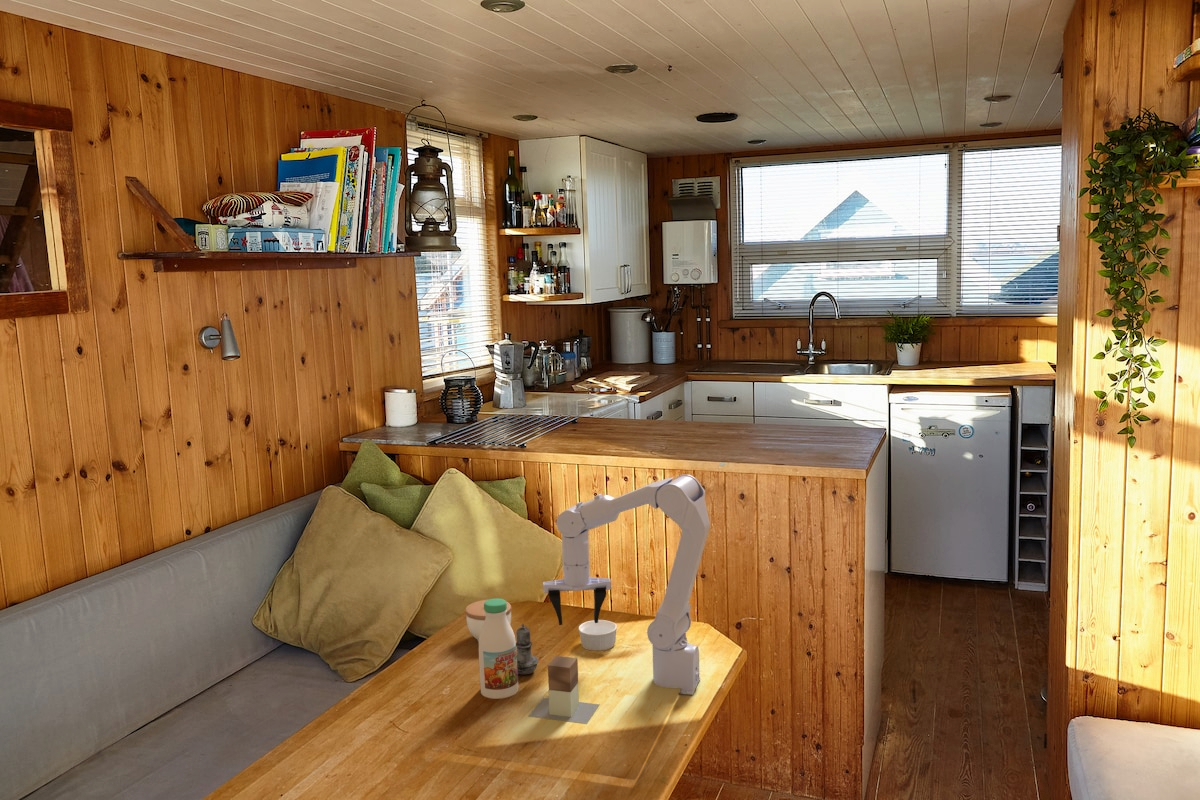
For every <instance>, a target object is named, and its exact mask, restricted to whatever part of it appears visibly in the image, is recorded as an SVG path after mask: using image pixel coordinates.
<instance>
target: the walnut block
mask: <svg viewBox="0 0 1200 800" xmlns="http://www.w3.org/2000/svg"><path fill="white" fill-rule="evenodd" d="M547 677H548V678H547V679H548V691H549V690H555V691H563V692H571V691H572V690H573V689H574V687H575V686H576V685H577V683H578V684H579V665H578V657H572V656H571V657H570V656H562V655H555V656H554V657H553V658H552V660H551V661H550V662H549V663H548V664H547Z"/></svg>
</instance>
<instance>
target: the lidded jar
mask: <svg viewBox="0 0 1200 800" xmlns="http://www.w3.org/2000/svg"><path fill="white" fill-rule="evenodd" d="M490 599H491V598H489V599H481V600H477V601H475V602H472V603H470V604H468V605H467V606H466V608H465V615H466V616H465V617H466V623H467V624H466V625H467V628H468V631H469V632H470V635H471V636H472V637H473V638H475V639H476V641H477V642H478V643H479V637H480V633H481V630H482V628H483V625H484V622H485V618H486V614H485V613H484V611H485V610H484V603H485V602H486V601H487V600H490ZM506 603H507V612H506V617H507V620H508V622H509V624H510V625H511V622H512V605H511V604H510V602H508V601H506Z"/></svg>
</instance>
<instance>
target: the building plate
mask: <svg viewBox="0 0 1200 800" xmlns="http://www.w3.org/2000/svg"><path fill="white" fill-rule="evenodd" d="M600 705H601V704H598V703H590V702H584V701H579V707H578V708H577V710H576V711H575V713H574V714H573V715H572V717H567V716H559V715H551V714H549V697H542V698H541V700H540V701H539V702H538V703H537V704H536V706H535V707H534V709H533V710H531V712H530V713H529V715H528V718H536V719H537V718H538V719H545V720H554V721H561V722H569V723H577V724H583V725H587V724H588V723H589V722H590V721H591V719H592V717H593V716H594V714H595V712H596V711H597V710H598V709H599V707H600Z"/></svg>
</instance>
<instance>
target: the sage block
mask: <svg viewBox="0 0 1200 800" xmlns="http://www.w3.org/2000/svg"><path fill="white" fill-rule="evenodd" d="M579 695H580V694H579V682H578V683H577V685H576V686H575V687H574V689H573V690H572V691H571V692H563V691H555V690H549V689H548V698H549V714H551V715H559V716H567V717H572V715H573V714H574V713H575V711H576V710H577V708H578V707H579V702H580V700H579V698H580V697H579Z"/></svg>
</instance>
